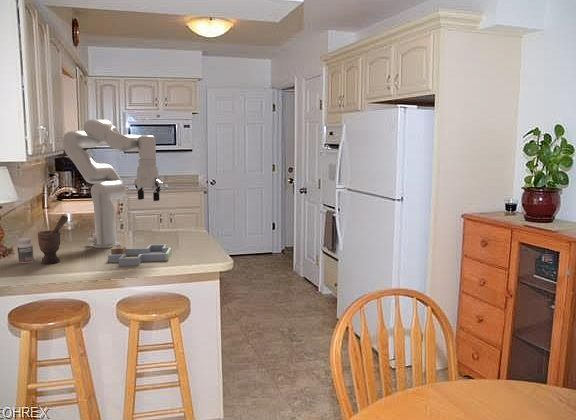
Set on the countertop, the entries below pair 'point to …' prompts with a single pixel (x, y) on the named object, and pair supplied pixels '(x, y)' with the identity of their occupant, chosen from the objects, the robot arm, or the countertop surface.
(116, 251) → the block
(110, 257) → the box
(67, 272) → the countertop surface
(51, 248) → the mortar and pestle
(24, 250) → the pill bottle
